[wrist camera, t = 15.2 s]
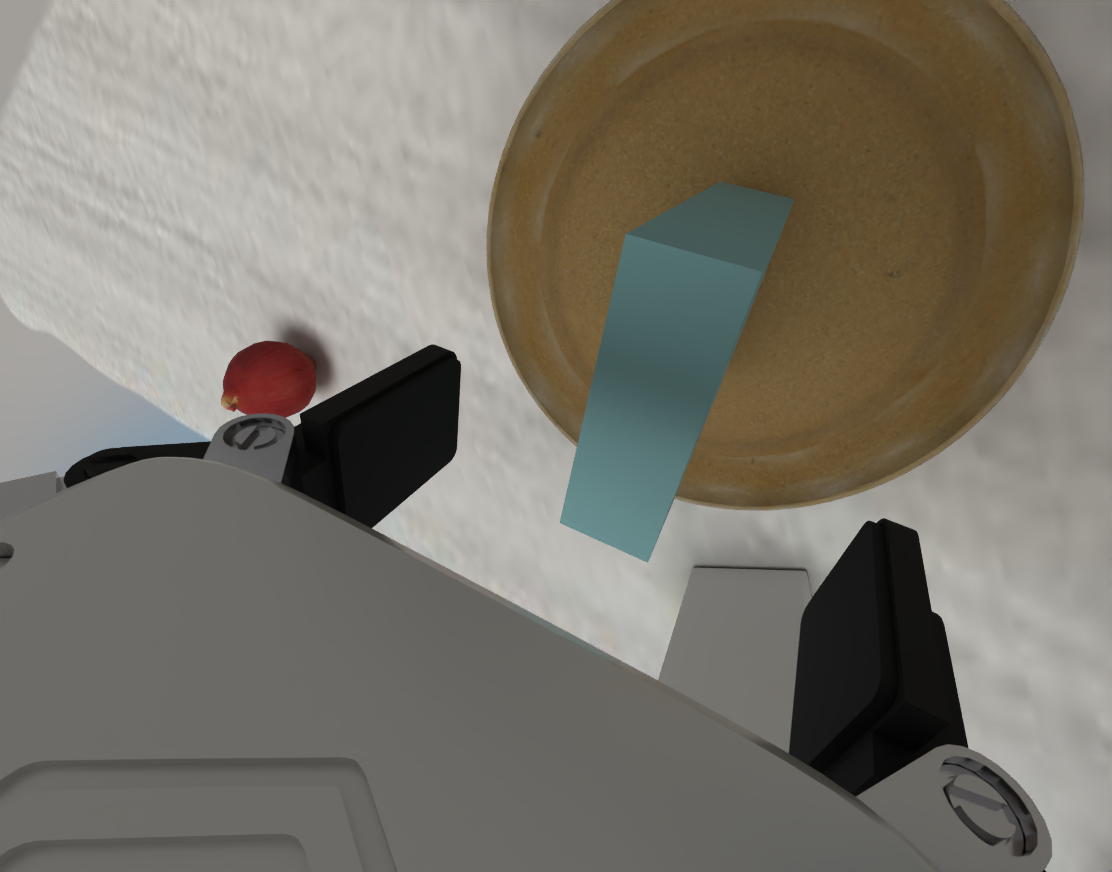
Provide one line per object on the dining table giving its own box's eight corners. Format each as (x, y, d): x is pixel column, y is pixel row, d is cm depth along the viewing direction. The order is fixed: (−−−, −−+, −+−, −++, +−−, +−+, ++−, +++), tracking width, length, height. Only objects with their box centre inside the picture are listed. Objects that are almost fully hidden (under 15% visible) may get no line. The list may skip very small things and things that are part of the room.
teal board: (794, 199, 20) (762, 272, 10) (717, 393, 25) (647, 562, 16) (720, 181, 21) (625, 233, 11) (659, 373, 26) (559, 522, 16)
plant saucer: (1196, 309, 19) (1252, 338, 17) (693, 535, 34) (683, 569, 32) (798, -246, 17) (792, -312, 14) (446, 258, 32) (412, 270, 29)
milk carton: (714, 640, 38) (640, 974, 23) (692, 564, 35) (592, 886, 20) (823, 651, 34) (817, 1058, 19) (807, 567, 31) (786, 963, 17)
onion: (299, 392, 44) (212, 436, 38) (274, 327, 41) (176, 363, 35) (348, 397, 42) (264, 445, 35) (325, 328, 39) (229, 367, 33)
